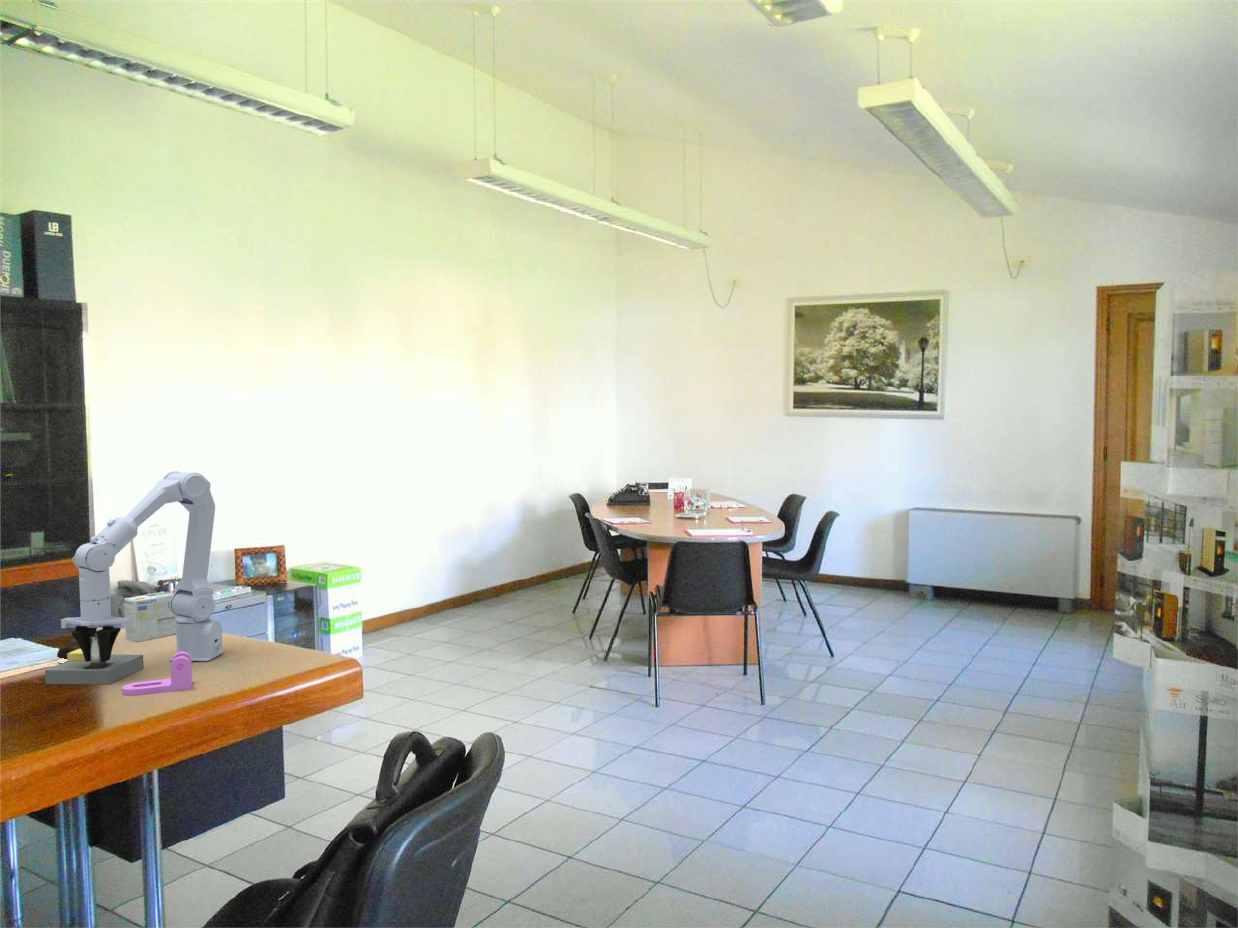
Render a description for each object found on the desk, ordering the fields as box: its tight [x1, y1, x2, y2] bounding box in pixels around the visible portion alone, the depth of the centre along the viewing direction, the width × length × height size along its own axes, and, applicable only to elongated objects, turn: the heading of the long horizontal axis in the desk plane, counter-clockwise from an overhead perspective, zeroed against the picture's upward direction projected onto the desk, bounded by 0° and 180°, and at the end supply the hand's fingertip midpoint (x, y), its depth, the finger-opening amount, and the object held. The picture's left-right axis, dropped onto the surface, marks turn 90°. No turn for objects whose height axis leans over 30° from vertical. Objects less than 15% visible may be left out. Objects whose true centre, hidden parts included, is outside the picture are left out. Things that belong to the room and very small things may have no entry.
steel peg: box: [89, 634, 106, 669], centre depth 197 cm, size 3×3×8 cm
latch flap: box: [67, 649, 85, 661], centre depth 204 cm, size 8×4×2 cm, turn 87°
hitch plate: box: [44, 653, 145, 686], centre depth 201 cm, size 14×13×3 cm
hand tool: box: [56, 637, 81, 659], centre depth 220 cm, size 19×4×5 cm, turn 17°
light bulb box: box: [123, 591, 176, 643], centre depth 236 cm, size 11×7×11 cm, turn 144°
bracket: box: [121, 652, 193, 697], centre depth 190 cm, size 13×6×7 cm, turn 113°
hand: (97, 660), depth 197 cm, fingers closed on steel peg, 3 cm apart
